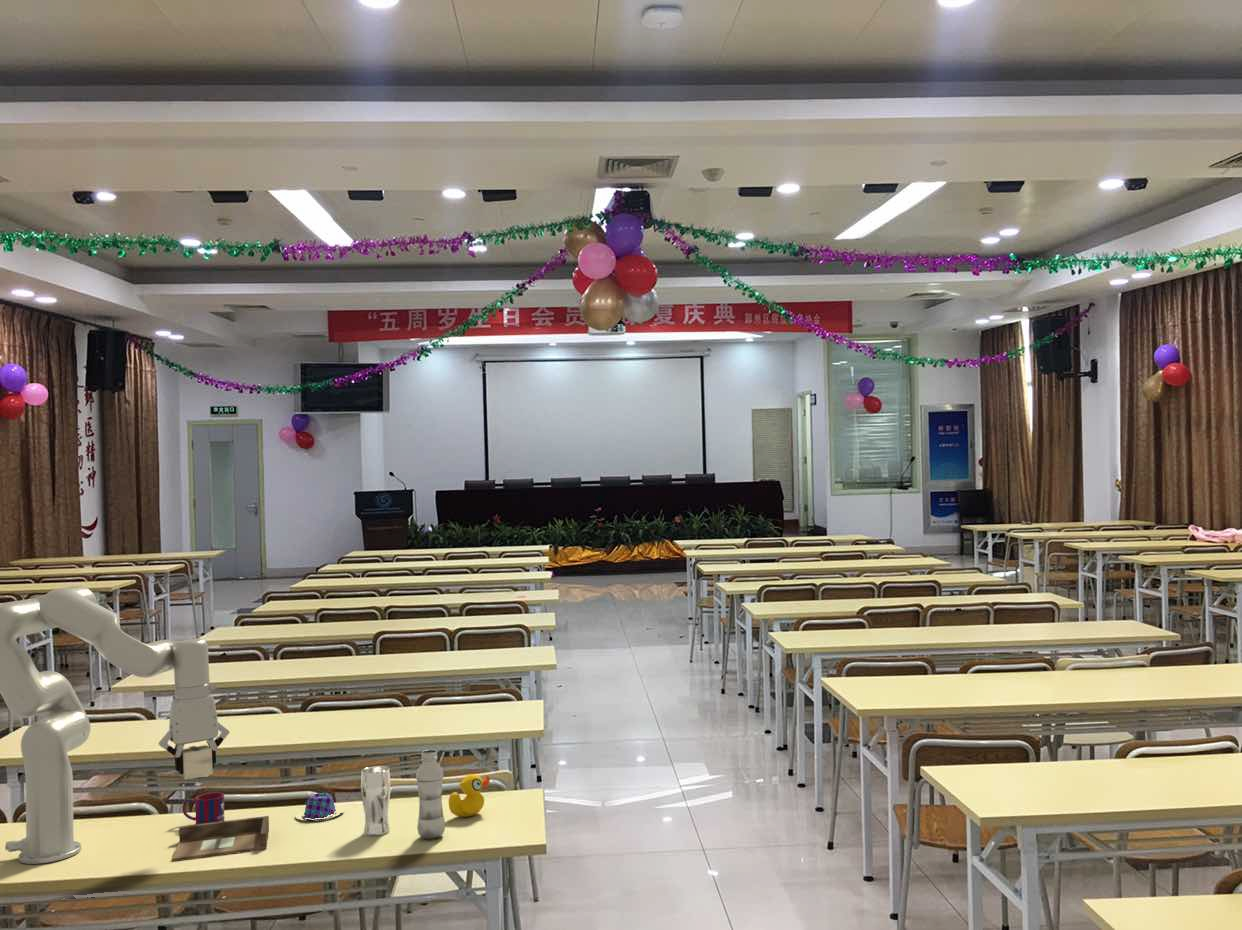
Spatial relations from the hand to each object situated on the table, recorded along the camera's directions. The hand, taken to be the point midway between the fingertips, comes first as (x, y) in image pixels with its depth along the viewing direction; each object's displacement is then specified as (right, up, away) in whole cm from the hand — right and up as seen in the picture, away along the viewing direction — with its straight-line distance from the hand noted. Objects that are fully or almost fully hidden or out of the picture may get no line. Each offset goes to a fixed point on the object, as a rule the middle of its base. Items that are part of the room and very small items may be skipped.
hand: (196, 769), depth 231 cm
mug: (-6, -20, +19) cm, 28 cm away
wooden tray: (+6, -18, +1) cm, 19 cm away
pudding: (+22, -19, +22) cm, 37 cm away
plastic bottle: (+55, -17, +2) cm, 57 cm away
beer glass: (+41, -17, +7) cm, 45 cm away
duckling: (+61, -17, +18) cm, 66 cm away
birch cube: (0, -1, 0) cm, 1 cm away
